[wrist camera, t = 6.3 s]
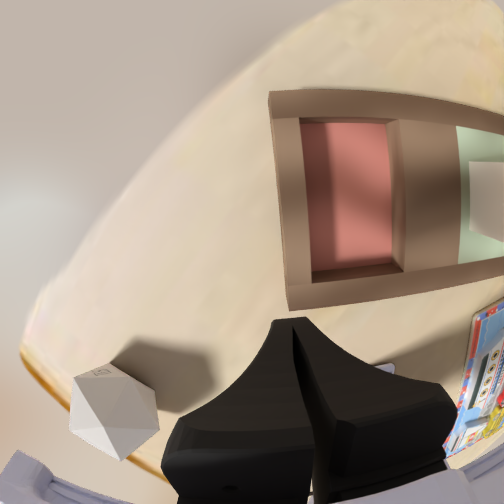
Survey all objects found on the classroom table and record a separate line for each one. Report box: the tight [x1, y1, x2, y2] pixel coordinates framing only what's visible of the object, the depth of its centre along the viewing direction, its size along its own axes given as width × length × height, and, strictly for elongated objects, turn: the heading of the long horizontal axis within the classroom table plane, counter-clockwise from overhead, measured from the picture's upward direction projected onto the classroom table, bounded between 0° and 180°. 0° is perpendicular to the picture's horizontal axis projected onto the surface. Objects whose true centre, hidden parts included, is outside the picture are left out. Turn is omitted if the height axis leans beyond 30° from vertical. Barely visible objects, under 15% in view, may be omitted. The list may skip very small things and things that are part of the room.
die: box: [69, 363, 160, 461], centre depth 20 cm, size 8×9×10 cm
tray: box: [268, 89, 504, 311], centre depth 17 cm, size 14×28×2 cm, turn 96°
